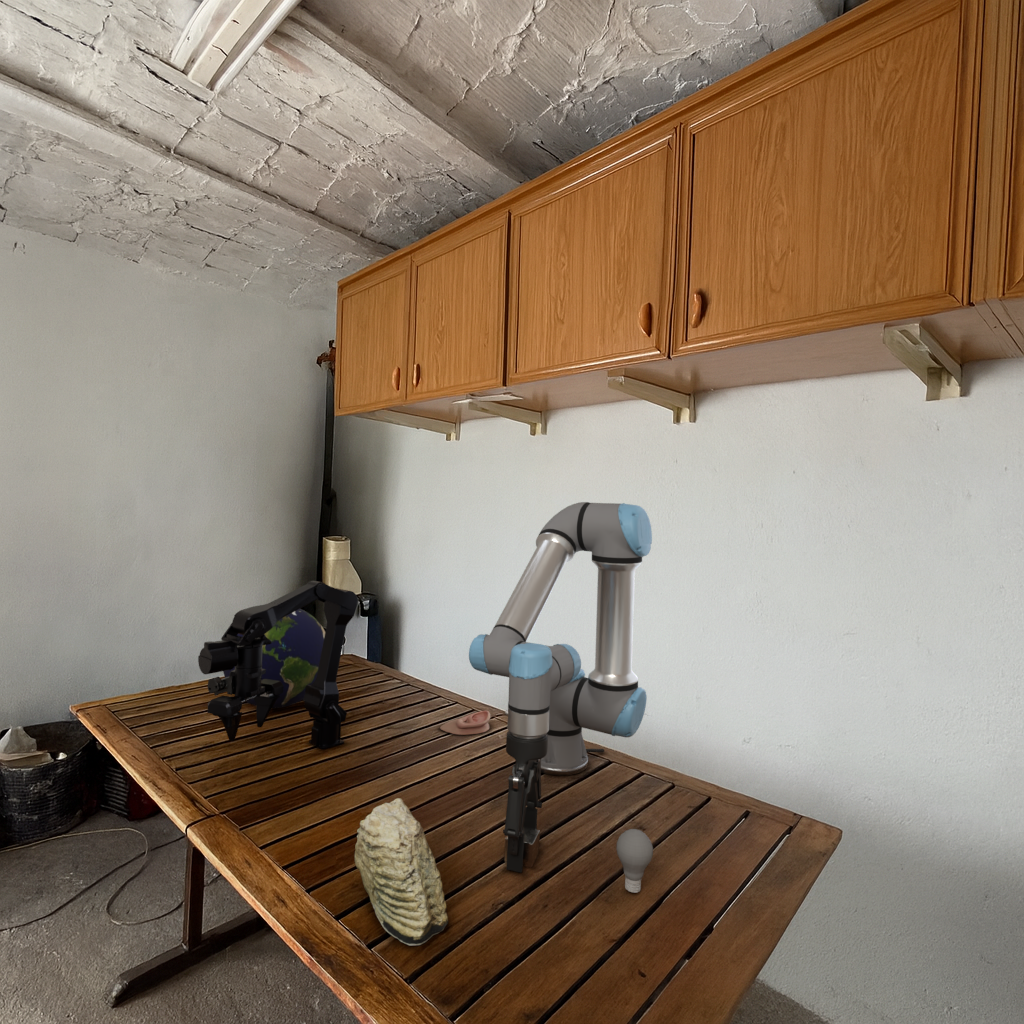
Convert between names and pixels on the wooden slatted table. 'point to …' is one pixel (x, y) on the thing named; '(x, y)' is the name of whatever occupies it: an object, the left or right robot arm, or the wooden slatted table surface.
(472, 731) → the anatomical model
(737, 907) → the wooden slatted table surface
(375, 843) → the fossil
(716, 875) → the wooden slatted table surface
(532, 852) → the grey metal block
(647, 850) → the light bulb
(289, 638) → the globe
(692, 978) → the wooden slatted table surface
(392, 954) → the wooden slatted table surface
